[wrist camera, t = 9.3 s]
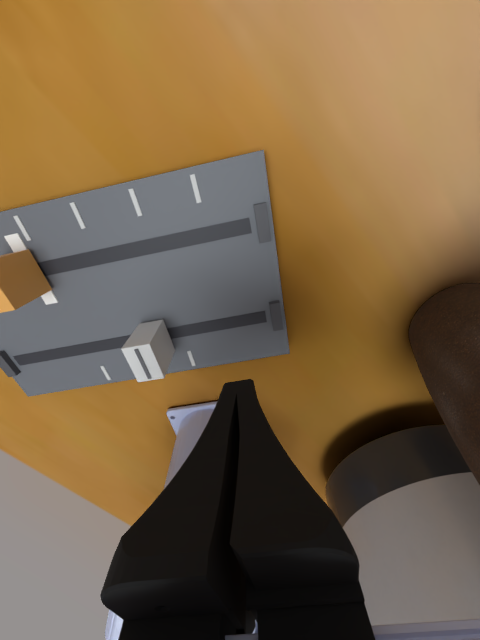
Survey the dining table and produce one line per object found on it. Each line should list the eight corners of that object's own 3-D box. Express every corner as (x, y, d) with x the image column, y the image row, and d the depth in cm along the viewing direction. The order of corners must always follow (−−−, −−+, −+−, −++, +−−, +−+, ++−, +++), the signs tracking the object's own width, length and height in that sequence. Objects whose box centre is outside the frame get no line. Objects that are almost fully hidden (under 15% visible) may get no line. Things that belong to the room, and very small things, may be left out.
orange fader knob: (52, 289, 19) (14, 310, 15) (27, 294, 19) (-15, 316, 16) (28, 249, 17) (-19, 263, 14) (2, 255, 17) (-51, 270, 14)
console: (286, 343, 23) (290, 356, 21) (39, 385, 25) (24, 400, 23) (261, 152, 16) (264, 148, 14) (-77, 232, 18) (-110, 237, 17)
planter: (286, 459, 31) (335, 734, 15) (434, 370, 25) (773, 686, 9) (370, 514, 38) (465, 748, 22) (505, 455, 31) (776, 726, 16)
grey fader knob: (175, 350, 21) (164, 378, 18) (152, 353, 21) (137, 383, 18) (163, 319, 20) (148, 344, 17) (139, 323, 20) (120, 349, 17)
